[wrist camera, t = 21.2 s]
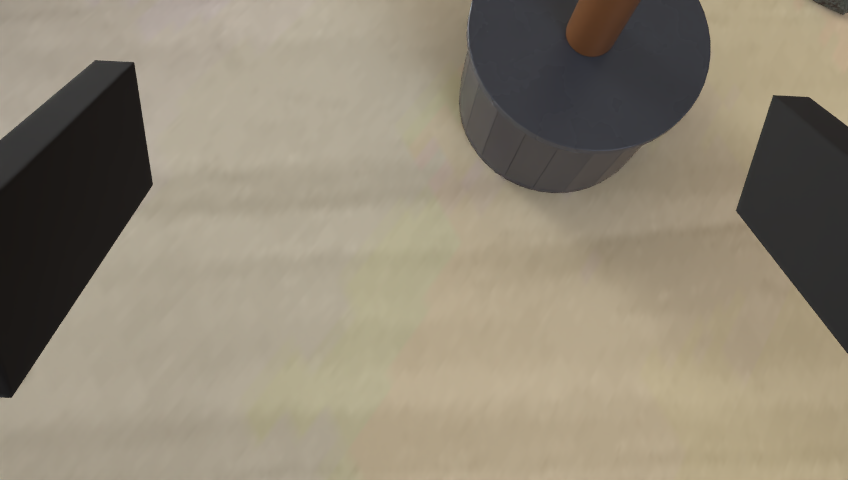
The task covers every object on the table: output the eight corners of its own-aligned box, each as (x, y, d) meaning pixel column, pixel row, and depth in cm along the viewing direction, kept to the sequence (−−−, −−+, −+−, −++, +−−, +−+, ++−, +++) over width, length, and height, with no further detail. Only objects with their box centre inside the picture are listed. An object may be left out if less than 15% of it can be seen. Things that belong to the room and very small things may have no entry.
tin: (429, 147, 49) (439, 88, 40) (501, -7, 52) (524, -92, 43) (605, 223, 48) (654, 181, 40) (667, 63, 51) (726, -9, 43)
